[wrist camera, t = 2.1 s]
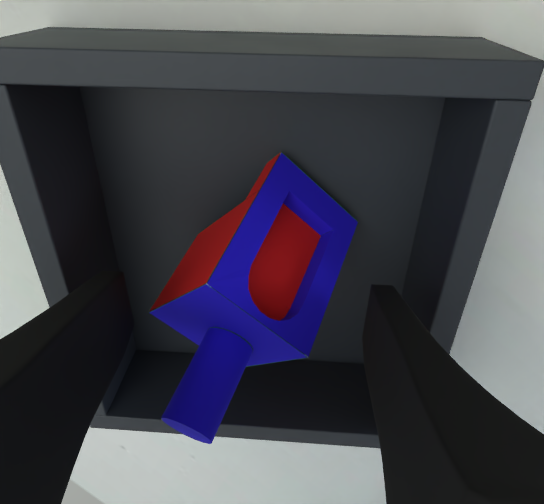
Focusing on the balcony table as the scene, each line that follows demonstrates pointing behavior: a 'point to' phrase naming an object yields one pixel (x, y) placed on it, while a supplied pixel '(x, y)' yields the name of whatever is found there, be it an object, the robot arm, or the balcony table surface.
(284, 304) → the toy building block
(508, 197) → the balcony table surface
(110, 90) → the tote
